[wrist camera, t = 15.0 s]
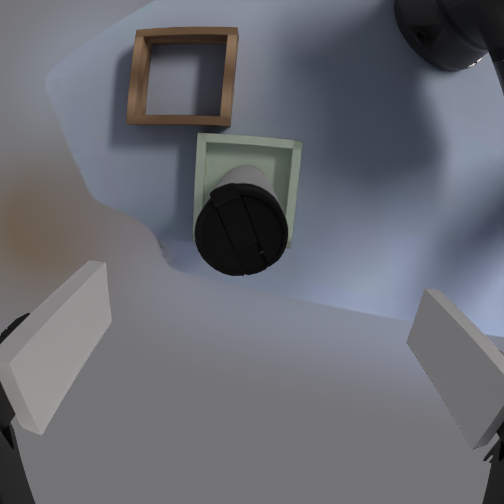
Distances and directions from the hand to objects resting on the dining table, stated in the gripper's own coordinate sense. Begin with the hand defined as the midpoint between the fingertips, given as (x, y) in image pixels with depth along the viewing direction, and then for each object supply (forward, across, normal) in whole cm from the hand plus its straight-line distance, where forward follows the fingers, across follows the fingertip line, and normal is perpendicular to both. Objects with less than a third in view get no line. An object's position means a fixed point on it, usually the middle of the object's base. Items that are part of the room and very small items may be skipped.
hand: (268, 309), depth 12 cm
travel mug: (+29, -1, 0) cm, 29 cm away
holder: (+30, -10, +14) cm, 34 cm away
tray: (+30, -1, 0) cm, 30 cm away
